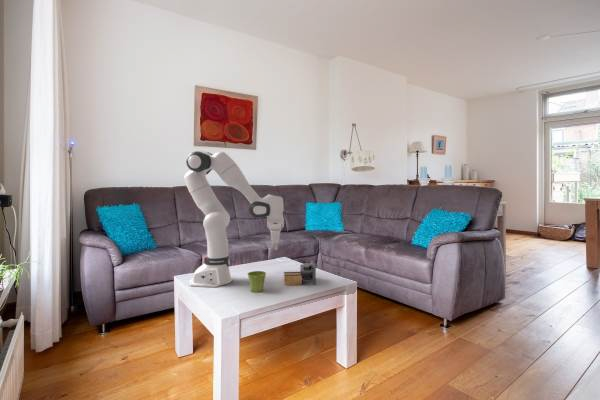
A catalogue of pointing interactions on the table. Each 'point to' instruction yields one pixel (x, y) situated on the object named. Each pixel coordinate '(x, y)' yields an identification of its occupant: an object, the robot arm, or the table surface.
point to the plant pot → (256, 280)
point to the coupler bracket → (308, 271)
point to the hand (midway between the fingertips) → (275, 249)
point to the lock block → (292, 278)
